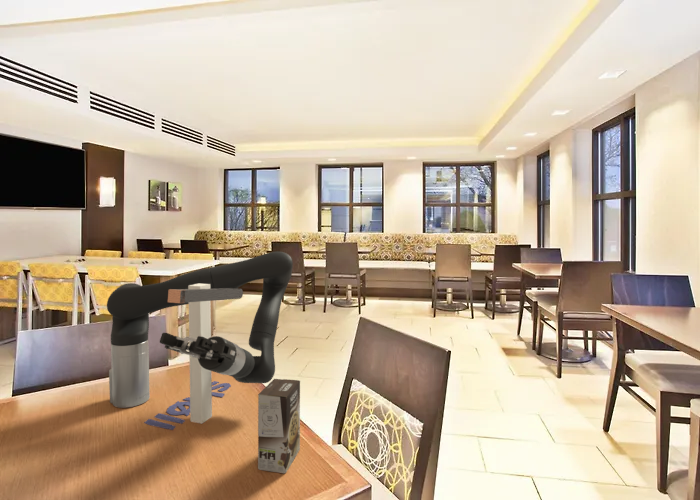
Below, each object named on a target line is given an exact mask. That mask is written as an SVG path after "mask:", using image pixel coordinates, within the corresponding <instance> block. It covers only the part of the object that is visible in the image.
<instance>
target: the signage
mask: <svg viewBox="0 0 700 500" xmlns="http://www.w3.org/2000/svg"><path fill="white" fill-rule="evenodd" d="M217 383H218V384H217ZM212 385H213V386H212V397H215V398H216V397H217V398H218V397H219V398H223V397H224V396H225V395H226V393H223V392H225V391H227V390H228V389H229V387H230V388H231V386H232V385H231V384H230V383H228V382H224V383H223V382H222V383H220V382H219V381H215V380H213V381H212ZM220 387H221V388H220ZM214 390H217V392H216V391H214ZM186 406H187V407H189V408H186ZM177 408H178V409H179V410H176V409H177ZM165 413H166V414H164V413H157V414H156V415H154V416H153V418H155V419H158V420H160V421H158V420H154V419H151V418H148V419H146V420H145V421H144V423H143V424H146V425H149V426H152V427H155V428H156V427H157V428H161V429H164V430H165V429H166V430H169V431H174V429H176V425H174V424H170V423H167V422H163V421H168V422H173V423H176V424H181V425H182V424H184V423H185V422H186V420H185V419H184V418H180V417H178V416H186V417H188V416H189V415H190V396H189V397H188V396H187V397H185V398H182V401H179V400H177V401H176V402H175V403H174V404H172V405H170V406H168V408H167V410H166V412H165ZM167 414H168V415H167ZM175 416H176V417H175Z"/></svg>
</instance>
